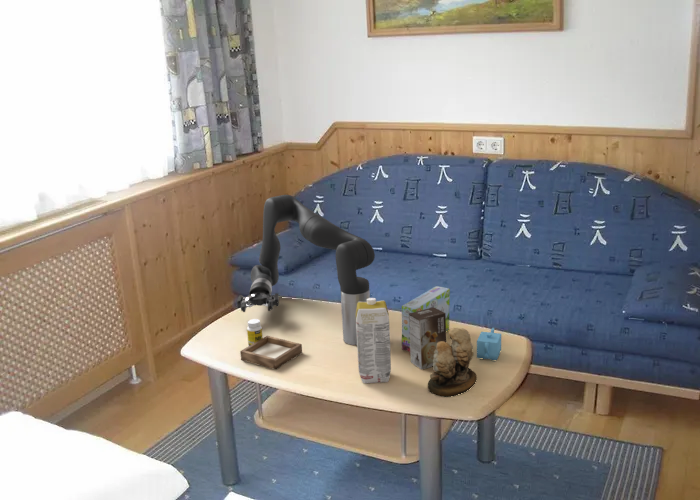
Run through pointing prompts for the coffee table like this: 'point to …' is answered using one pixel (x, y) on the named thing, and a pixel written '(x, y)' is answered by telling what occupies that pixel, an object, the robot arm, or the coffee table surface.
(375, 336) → the juice carton
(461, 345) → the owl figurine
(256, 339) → the supplement bottle
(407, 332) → the snack box
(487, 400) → the coffee table surface
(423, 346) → the coffee box
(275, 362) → the walnut tray
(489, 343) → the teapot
